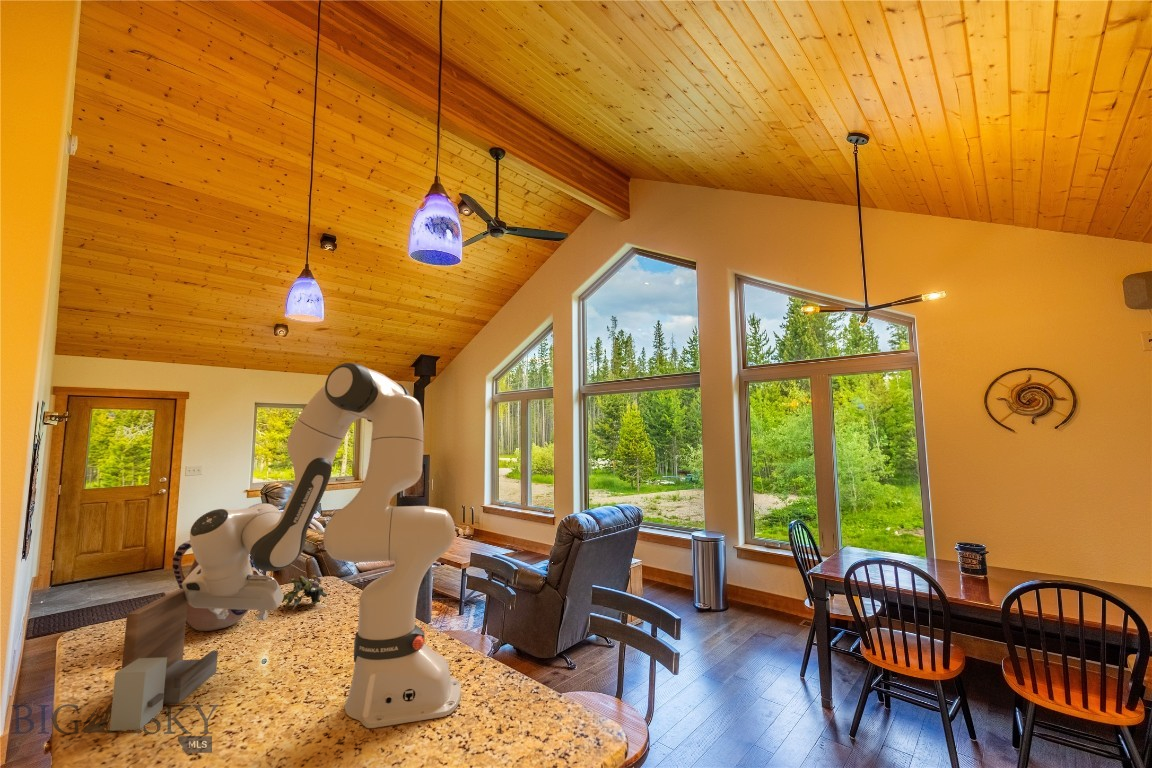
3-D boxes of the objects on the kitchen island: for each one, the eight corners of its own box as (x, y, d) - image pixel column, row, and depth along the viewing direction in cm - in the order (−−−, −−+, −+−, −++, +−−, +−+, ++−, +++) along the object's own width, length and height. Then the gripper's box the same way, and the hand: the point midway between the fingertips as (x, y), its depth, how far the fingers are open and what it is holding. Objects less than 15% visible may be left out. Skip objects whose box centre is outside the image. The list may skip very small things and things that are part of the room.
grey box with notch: (166, 710, 98) (171, 657, 99) (144, 728, 92) (150, 671, 93) (133, 712, 97) (139, 658, 98) (109, 730, 91) (115, 672, 92)
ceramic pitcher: (267, 616, 147) (274, 529, 150) (202, 646, 127) (211, 544, 129) (216, 611, 150) (223, 526, 153) (144, 640, 130) (154, 540, 132)
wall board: (219, 669, 115) (226, 587, 117) (174, 707, 99) (182, 612, 101) (171, 671, 114) (179, 588, 115) (117, 710, 98) (127, 614, 99)
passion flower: (312, 621, 158) (337, 589, 160) (286, 627, 148) (312, 593, 149) (292, 596, 162) (316, 565, 164) (265, 600, 152) (291, 567, 153)
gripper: (282, 565, 117) (294, 608, 123) (193, 562, 117) (209, 605, 123) (266, 587, 111) (280, 630, 117) (173, 584, 111) (191, 627, 117)
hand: (243, 617), depth 120 cm, fingers open, 8 cm apart
